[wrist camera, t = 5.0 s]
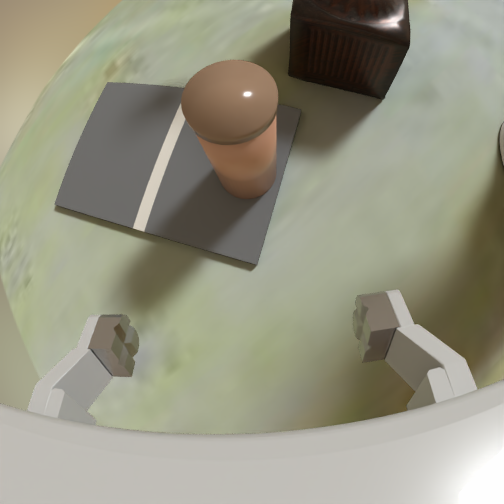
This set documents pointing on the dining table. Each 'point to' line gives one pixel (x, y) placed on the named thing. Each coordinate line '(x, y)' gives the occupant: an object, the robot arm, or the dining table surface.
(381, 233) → the dining table surface
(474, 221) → the dining table surface
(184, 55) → the dining table surface
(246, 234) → the throwing lane
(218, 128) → the terracotta jar
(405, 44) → the manual coffee grinder
